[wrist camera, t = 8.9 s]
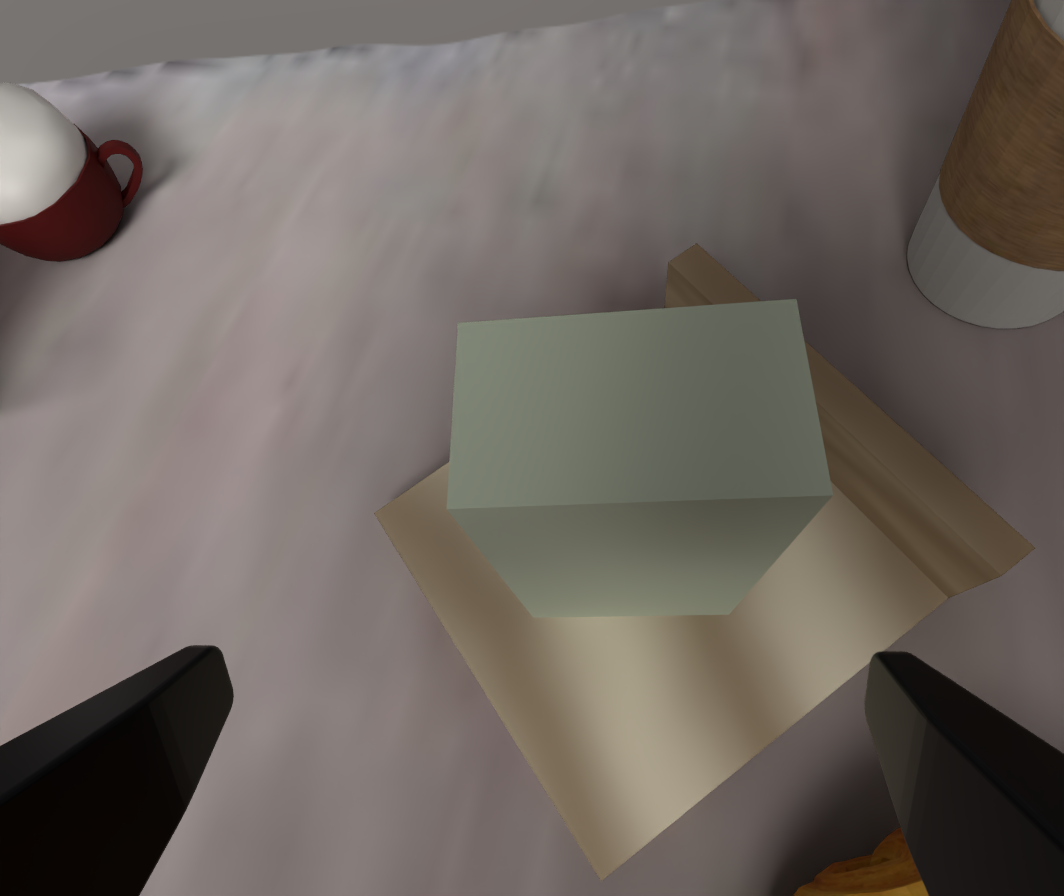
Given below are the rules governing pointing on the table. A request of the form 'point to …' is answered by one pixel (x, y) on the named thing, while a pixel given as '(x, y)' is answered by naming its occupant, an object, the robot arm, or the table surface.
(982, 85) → the coffee cup
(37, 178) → the cocoa
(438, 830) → the table surface
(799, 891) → the croissant
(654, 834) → the ledge board
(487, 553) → the sage green box
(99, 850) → the robot arm
